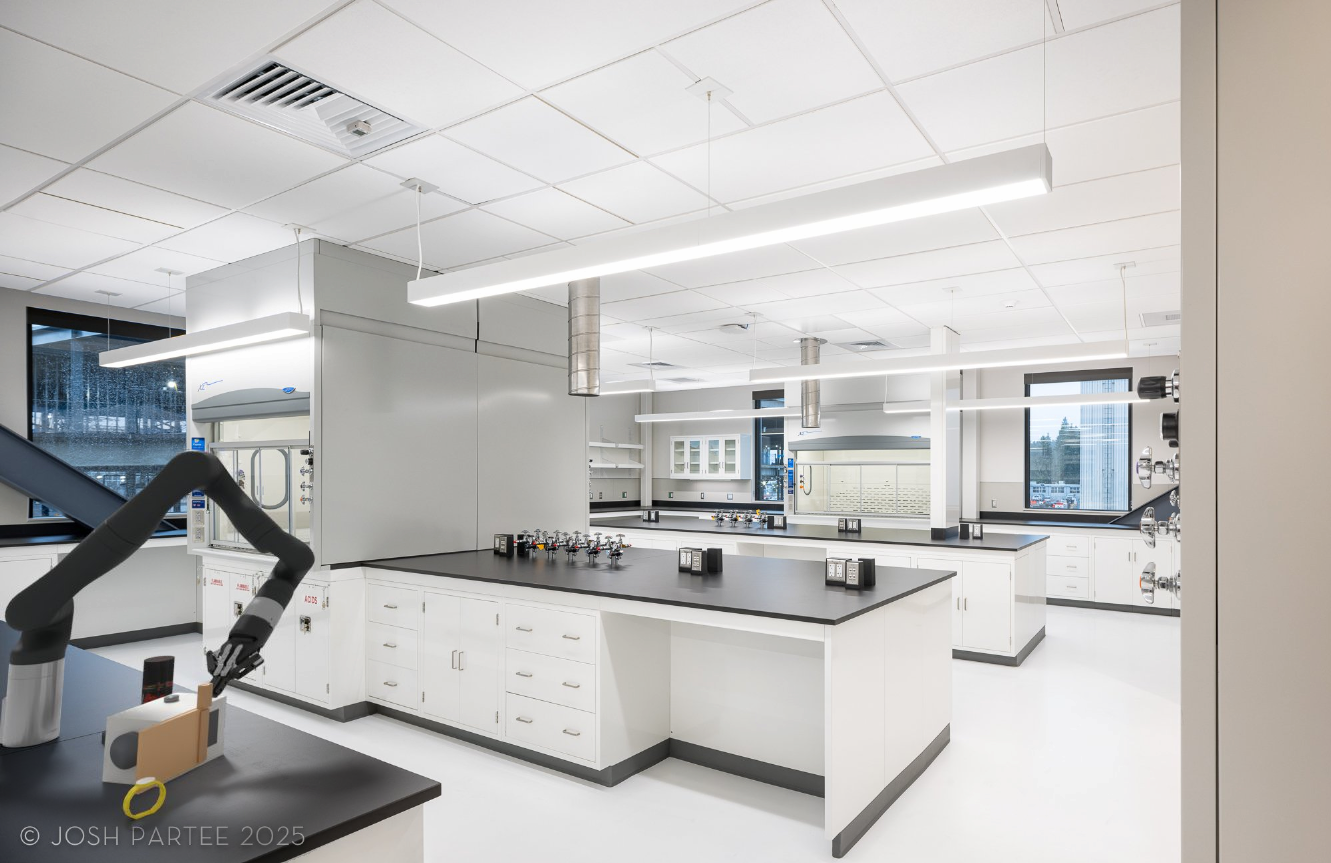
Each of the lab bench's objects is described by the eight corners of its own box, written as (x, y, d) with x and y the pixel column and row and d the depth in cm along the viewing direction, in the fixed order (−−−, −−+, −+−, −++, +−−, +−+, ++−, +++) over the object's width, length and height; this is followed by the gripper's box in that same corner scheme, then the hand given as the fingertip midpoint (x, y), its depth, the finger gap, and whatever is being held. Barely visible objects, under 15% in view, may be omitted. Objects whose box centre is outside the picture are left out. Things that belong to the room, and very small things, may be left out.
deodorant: (133, 725, 163) (138, 660, 164) (160, 718, 168) (164, 654, 169) (149, 729, 161) (154, 663, 162) (176, 721, 166) (180, 657, 167)
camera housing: (94, 785, 132) (99, 715, 133) (172, 749, 149) (176, 688, 150) (150, 790, 130) (155, 719, 131) (223, 754, 147) (227, 691, 148)
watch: (129, 825, 118) (128, 790, 118) (120, 821, 119) (120, 786, 119) (168, 808, 123) (167, 774, 123) (159, 805, 124) (159, 771, 124)
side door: (134, 793, 126) (140, 705, 127) (201, 761, 141) (205, 682, 142) (142, 794, 126) (148, 706, 127) (208, 761, 141) (213, 683, 142)
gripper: (222, 611, 154) (171, 684, 141) (276, 614, 152) (230, 688, 139) (238, 630, 159) (191, 703, 146) (291, 633, 157) (248, 707, 144)
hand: (210, 695), depth 143 cm, fingers closed
